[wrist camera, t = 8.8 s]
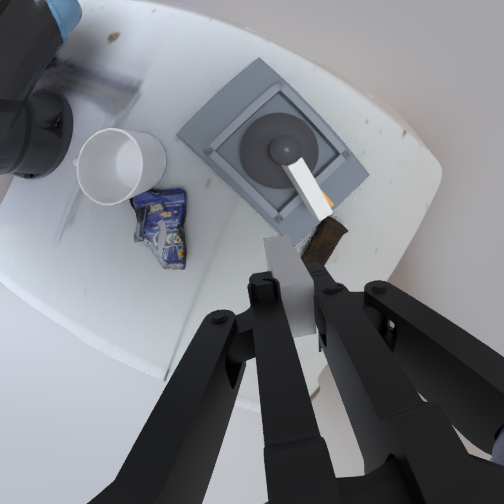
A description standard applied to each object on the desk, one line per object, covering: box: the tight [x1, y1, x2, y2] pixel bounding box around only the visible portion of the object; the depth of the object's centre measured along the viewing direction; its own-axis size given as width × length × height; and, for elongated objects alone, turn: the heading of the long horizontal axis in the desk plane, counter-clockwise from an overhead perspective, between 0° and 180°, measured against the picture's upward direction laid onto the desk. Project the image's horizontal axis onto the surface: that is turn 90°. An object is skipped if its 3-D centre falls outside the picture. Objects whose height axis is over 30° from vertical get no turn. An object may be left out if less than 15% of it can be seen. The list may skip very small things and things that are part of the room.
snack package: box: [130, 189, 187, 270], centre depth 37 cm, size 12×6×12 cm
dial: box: [241, 113, 333, 221], centre depth 31 cm, size 13×10×7 cm
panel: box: [177, 58, 370, 247], centre depth 34 cm, size 22×15×4 cm
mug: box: [72, 128, 166, 205], centre depth 31 cm, size 9×12×11 cm
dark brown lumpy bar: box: [302, 217, 348, 265], centre depth 41 cm, size 19×4×5 cm, turn 150°
